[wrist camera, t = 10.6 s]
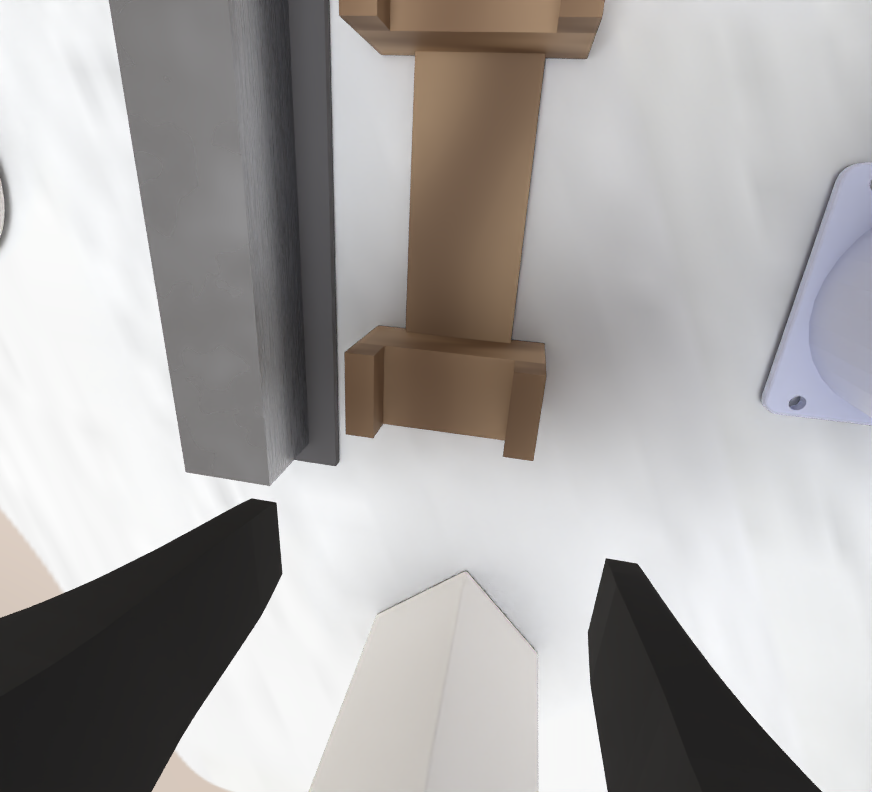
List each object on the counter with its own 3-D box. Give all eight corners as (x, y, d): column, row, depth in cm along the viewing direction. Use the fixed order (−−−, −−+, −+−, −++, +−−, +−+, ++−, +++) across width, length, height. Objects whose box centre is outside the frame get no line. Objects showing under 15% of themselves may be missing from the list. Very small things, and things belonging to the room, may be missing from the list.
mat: (324, -225, 14) (317, -237, 13) (339, 461, 22) (335, 466, 22) (133, -211, 14) (122, -221, 14) (218, 443, 23) (213, 447, 23)
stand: (609, -92, 13) (634, -189, 10) (531, 426, 20) (531, 474, 16) (382, -86, 14) (336, -173, 11) (377, 406, 21) (345, 446, 17)
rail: (279, -182, 14) (202, -297, 11) (309, 443, 21) (269, 485, 18) (168, -175, 14) (62, -283, 11) (236, 432, 22) (185, 471, 19)
